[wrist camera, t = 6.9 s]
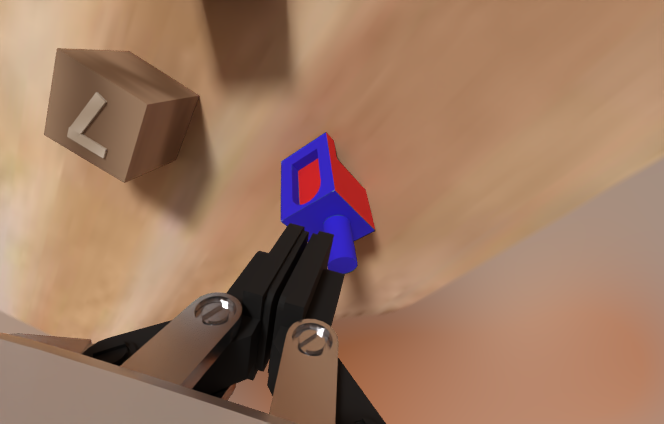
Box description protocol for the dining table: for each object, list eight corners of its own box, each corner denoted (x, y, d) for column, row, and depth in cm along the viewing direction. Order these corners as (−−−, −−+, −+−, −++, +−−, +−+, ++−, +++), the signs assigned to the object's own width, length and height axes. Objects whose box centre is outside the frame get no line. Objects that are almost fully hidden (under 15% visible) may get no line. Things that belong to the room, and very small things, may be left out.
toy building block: (319, 197, 24) (329, 295, 19) (280, 161, 22) (279, 264, 16) (361, 173, 23) (385, 271, 18) (325, 131, 20) (341, 232, 15)
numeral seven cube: (200, 95, 21) (145, 104, 17) (176, 159, 23) (122, 183, 19) (130, 51, 21) (54, 48, 16) (112, 120, 23) (41, 135, 18)
